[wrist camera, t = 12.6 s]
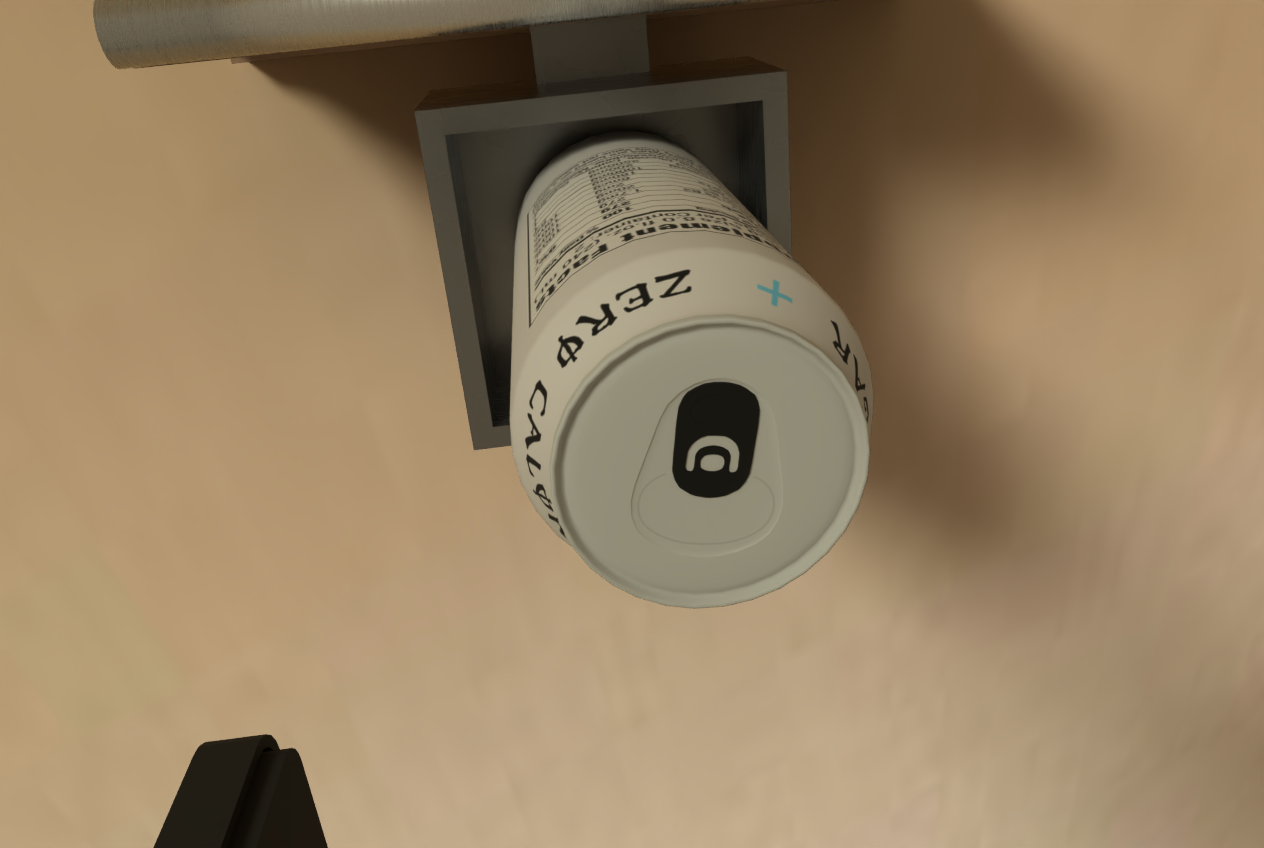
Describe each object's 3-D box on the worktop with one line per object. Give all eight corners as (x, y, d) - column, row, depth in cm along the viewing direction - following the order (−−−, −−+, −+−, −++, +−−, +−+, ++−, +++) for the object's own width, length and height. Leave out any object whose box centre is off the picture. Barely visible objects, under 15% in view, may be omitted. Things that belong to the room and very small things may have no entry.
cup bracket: (897, 298, 35) (1035, 420, 26) (319, 368, 34) (240, 521, 25) (906, -159, 29) (1088, -221, 20) (209, -91, 28) (50, -123, 19)
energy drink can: (511, 330, 29) (501, 638, 16) (519, 117, 27) (516, 263, 13) (713, 340, 30) (870, 643, 17) (739, 134, 28) (948, 288, 14)
